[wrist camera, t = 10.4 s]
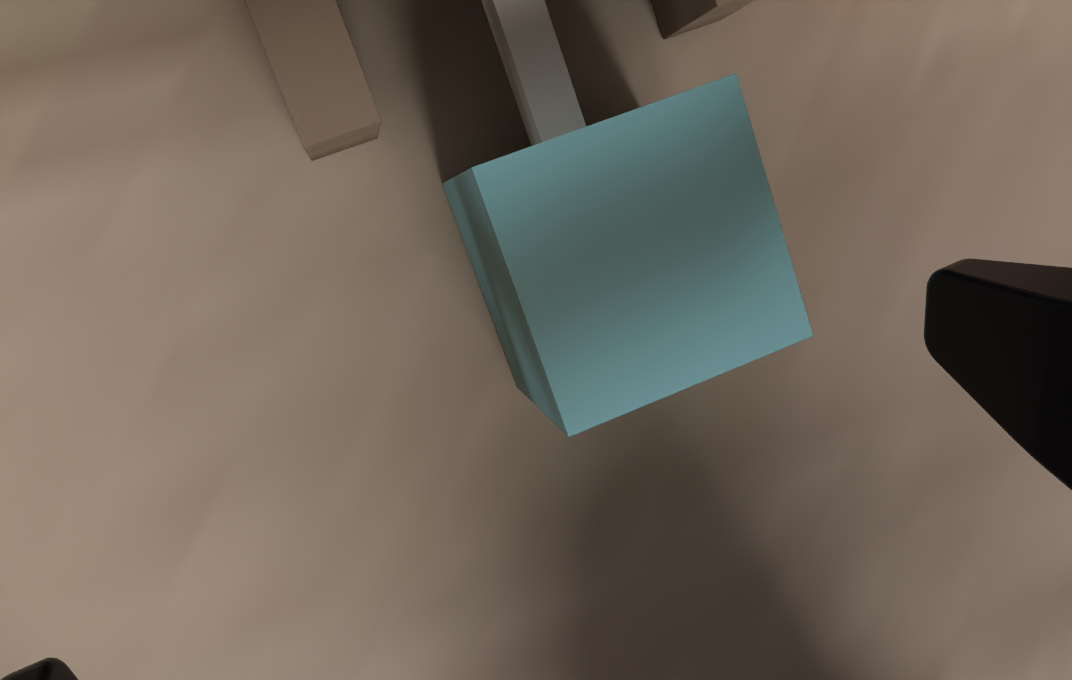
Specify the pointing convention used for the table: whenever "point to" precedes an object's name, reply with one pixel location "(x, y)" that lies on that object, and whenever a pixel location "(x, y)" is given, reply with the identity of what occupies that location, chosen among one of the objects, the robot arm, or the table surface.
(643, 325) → the grey teal angled piece
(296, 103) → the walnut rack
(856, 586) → the table surface
